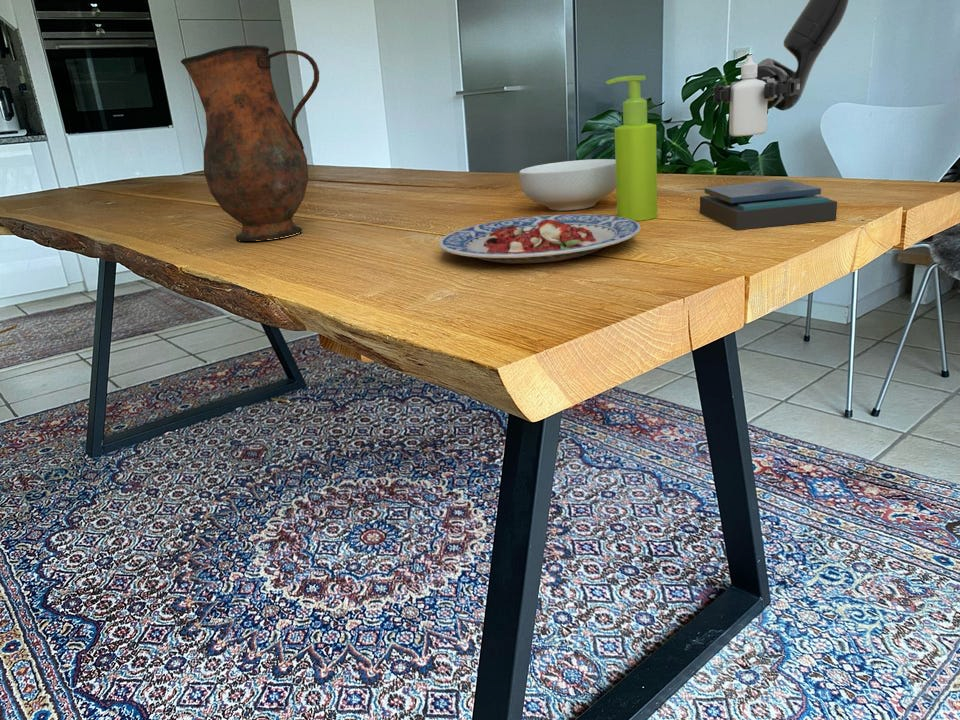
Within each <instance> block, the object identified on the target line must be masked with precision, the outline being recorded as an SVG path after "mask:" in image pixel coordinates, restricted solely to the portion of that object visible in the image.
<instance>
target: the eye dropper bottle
mask: <svg viewBox="0 0 960 720" xmlns="http://www.w3.org/2000/svg"><path fill="white" fill-rule="evenodd" d="M757 64H758V63H755V62H754V60H753V55H752V54H751V55H746V60H745V63H743V64H742V65H741V66H740V78H741V79H743V80H741V81H740V82H738V81H737V82H738V83H736V84H734V85H733V86H732V87H731V89H730V102H729V121H728V122H729V127H728V133H729V136H731V137H747V136H757V135H763V134H765V133H767V131H768V130H767V129H768V110H767V100H768V99H765V98H764V91H765V84H766V83H765V82H764V81H761V80H757V79H756V78H755V77H757Z"/></svg>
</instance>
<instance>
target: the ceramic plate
mask: <svg viewBox="0 0 960 720" xmlns="http://www.w3.org/2000/svg"><path fill="white" fill-rule="evenodd" d="M640 231H641V225H640V223H638V221H633V220H630V219H627V218H622V217H617V215H605V214H591V213H590V214H586V213H585V214H583V213H582V214H578V213H577V214H576V213H575V214H573V213H572V214H568V213H567V214H549V215H547V214H546V215H536V216H526V217H525V216H524V217H517V218H516V217H515V218H509V219H502V220H496V221H489V222H485V223H480V224H475V225H472V226H469V227H464V228H461V229H458V230H455V231H453V232H450V233H448V234H446V235H445V236H443V237H442V238H441V239H440V240H439V242H438V245H439V247H440V248H441V249H442V251H444V252H447V253H449V254H454V255H458V256H461V257H470V258H476V259H479V260H483V261H486V262H491V263H500V264H542V263H550V262H551V263H552V262H560V261H565V260H569V259H570V260H571V259H575V258H580V257H584V256H587V255H590V254H593V253H595V252H598V251H599V250H602V249H603V248H606V247H609V246H614V245H617V244H619V243H622V242H625V241H628V240H630V239H632V238H633V237H635V236H636V235H638V234H639V233H640Z"/></svg>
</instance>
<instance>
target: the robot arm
mask: <svg viewBox="0 0 960 720" xmlns="http://www.w3.org/2000/svg"><path fill="white" fill-rule="evenodd" d="M849 1H850V0H808V1H807V3H806V5H805V7H804V8H803V9H802V11H801V12H800V15H799V16H798V17H797V19H795V21H794V23H793V24H792V26H791V28H790V29H789V31H788V32H787V33H786V36H785V37H784V39H783V47H784V48H785V49H786V50H787V51H788V52H789V53H790V54H791V55H792V56H793V58H795V59H796V62H797V67H796V70H793V69H791V68H789V67H788V66H787V65H784V64H783V63H781V62H779V61H777V60H776V59H774V58H764V59H762V60H761V61H760V62H758V63H756V64H757V77H755V78H756V79H757V80H761V81H764V82H765V83H766V84H765V91H764V98H765V99H768V100H767V111H769V110H770V109H772V108H775V109H777V110H780V111H787V110H790V109H792V108H793V107H794V106H796V105H797V103H799V101H800V100H801V98H802V95H803V93H804V91H805V88H806V85H807V82H808V79H809V77H810V74H811V72H812V70H813V67H814V65H815V62H816V61H817V59H818V57H819V55H820V54H821V52H822V51H823V49H824V48H825V46H826V45H827V43H829V40H830V39H831V38H832V36H833V35H834V34H835V32H836V31H837V29H838V27H839V26H840V24H841V23H842V21H843V19H844V16H845V14H846V11H847V8H848V5H849ZM741 80H743V79H741V77H740V78H739V79H738V81H733V82H731V83H730V84H727V85H716V86H713V103H714V104H716V105H717V104H720V103H726V104H730V89H731V87H732V86H733V85H734V84H736V83H738V82H740V81H741Z"/></svg>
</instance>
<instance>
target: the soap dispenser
mask: <svg viewBox="0 0 960 720" xmlns="http://www.w3.org/2000/svg"><path fill="white" fill-rule="evenodd" d="M646 77H647V76H646V75H624V76H618V77H614V78H612V79H611V78H610V79H608V80H607V81H605V83H606V85H613V84H617V83H621V82H627V83H628V84H627V86H628V87H627V88H628V89H627V90H628V98H626V99H625V101H622V122H623V123H622V125H619V126H617V127H615V128H614V148H615V149H614V152H615V153H614V155H615V158H614V159H615V160H616V188H615V190H616V217H622V218H627V219H630V220H633V221H635V222H640V221H649V220H653V219H656V218H658V165H657V164H658V159H657V157H658V155H657V154H658V153H657V150H658V149H657V147H658V146H657V145H658V144H657V124H656V123H655V124H654V123H650V122H649V123H648V100H647V99H645V98H644V97H642V96H641V95H642V89H641V88H642V85H641V81H646V80H647V78H646Z"/></svg>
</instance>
